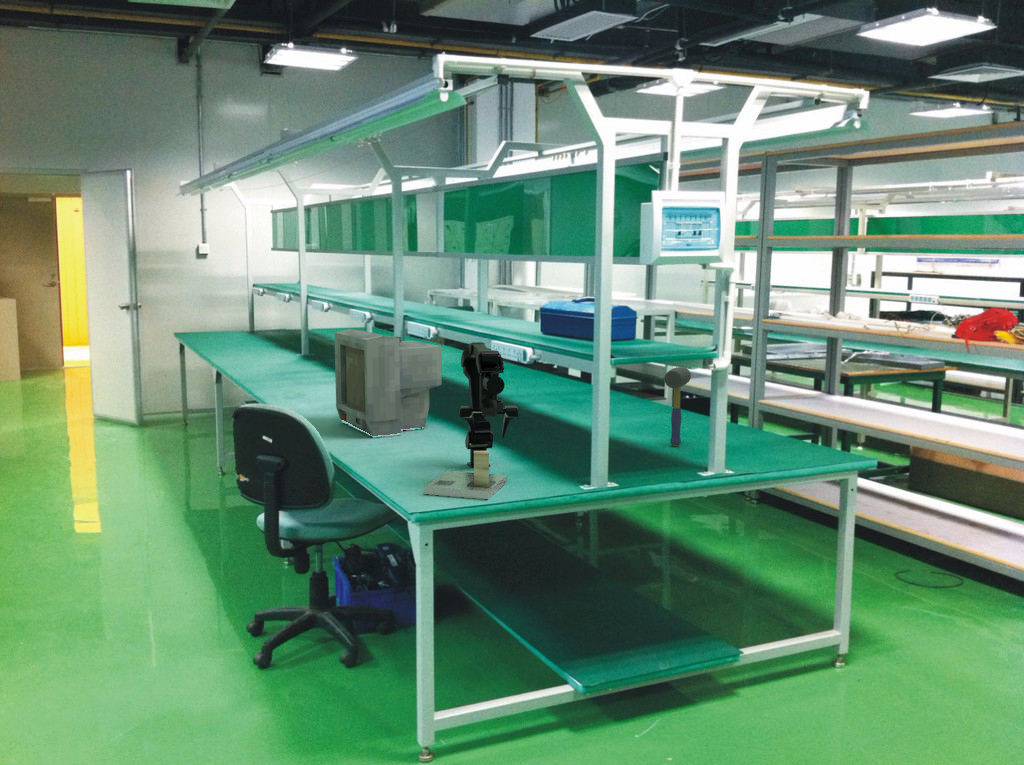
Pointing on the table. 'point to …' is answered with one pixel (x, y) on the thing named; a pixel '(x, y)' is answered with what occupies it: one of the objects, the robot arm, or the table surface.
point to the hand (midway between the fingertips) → (488, 437)
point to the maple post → (481, 468)
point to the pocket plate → (464, 485)
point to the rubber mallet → (676, 399)
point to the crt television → (384, 381)
